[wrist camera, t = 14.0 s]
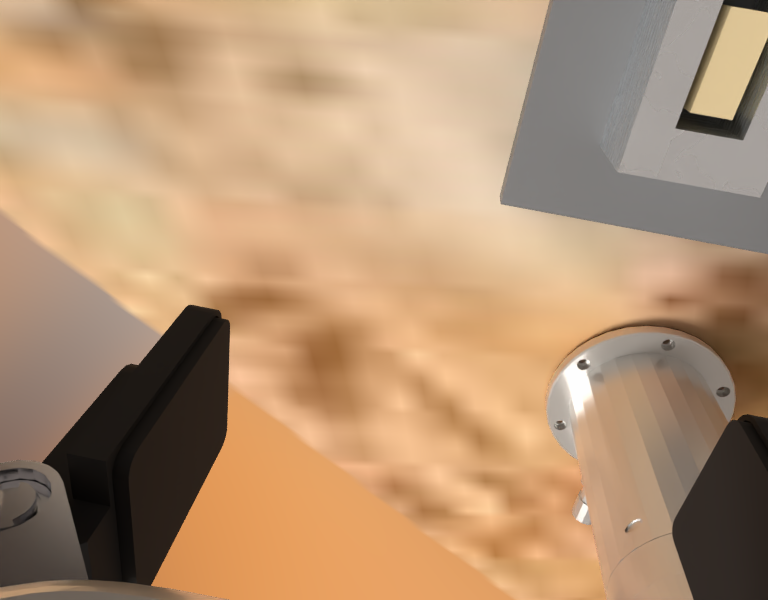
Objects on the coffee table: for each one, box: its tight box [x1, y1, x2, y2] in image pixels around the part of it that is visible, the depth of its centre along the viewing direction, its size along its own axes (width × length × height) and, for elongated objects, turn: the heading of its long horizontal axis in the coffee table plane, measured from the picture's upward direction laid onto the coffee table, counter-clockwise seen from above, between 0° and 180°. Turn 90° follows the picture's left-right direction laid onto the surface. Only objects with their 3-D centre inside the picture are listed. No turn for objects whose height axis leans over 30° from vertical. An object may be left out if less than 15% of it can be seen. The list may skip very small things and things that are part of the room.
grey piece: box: [500, 0, 768, 254], centre depth 31 cm, size 20×16×6 cm
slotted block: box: [600, 0, 768, 198], centre depth 30 cm, size 11×7×5 cm, turn 172°
